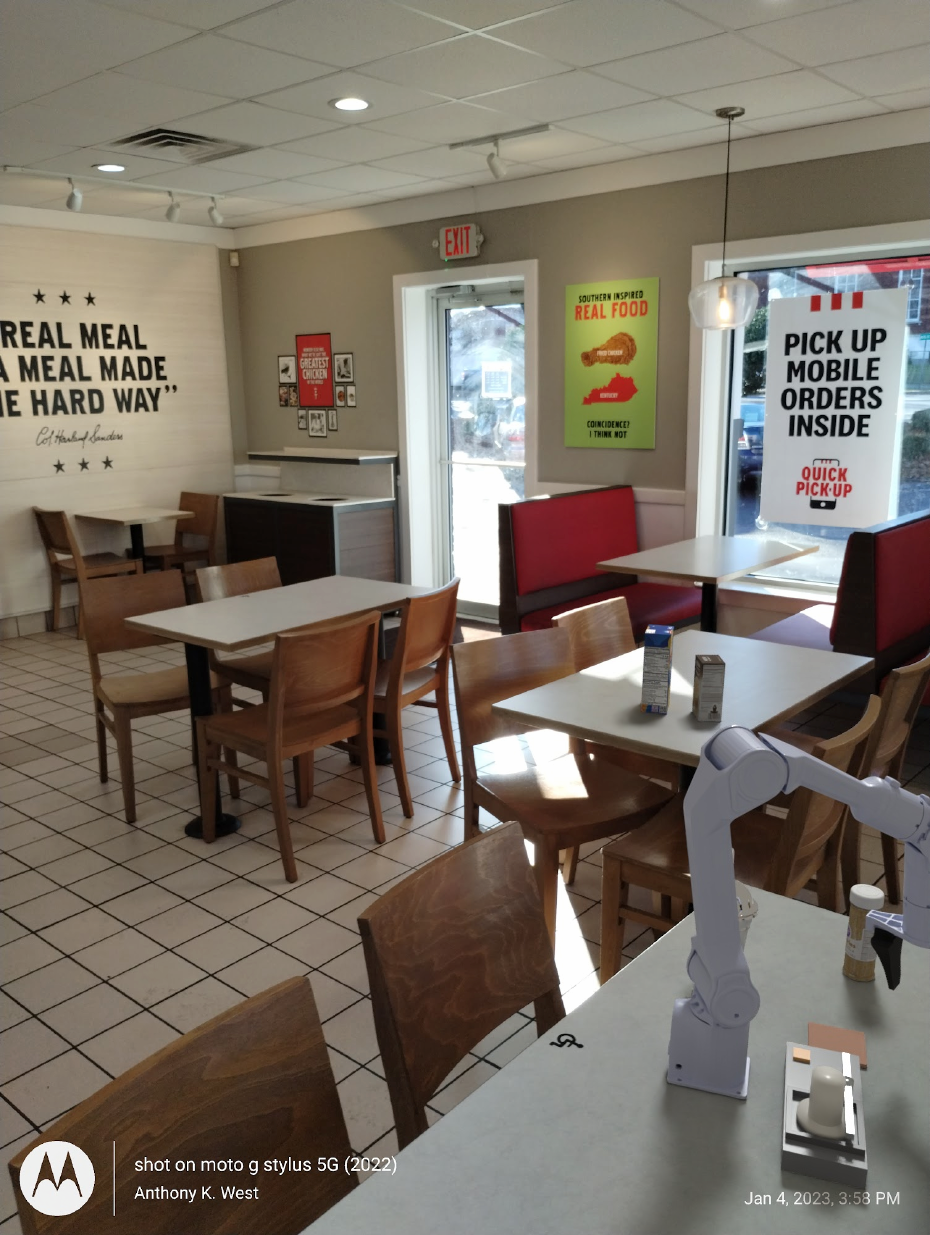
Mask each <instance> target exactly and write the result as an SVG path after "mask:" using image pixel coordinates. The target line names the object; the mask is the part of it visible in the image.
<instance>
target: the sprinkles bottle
mask: <svg viewBox="0 0 930 1235" xmlns="http://www.w3.org/2000/svg"><path fill="white" fill-rule="evenodd" d="M849 902H850V906H849V907H850V909H849V914H848V915H849V917H848V924H847V930H846V939H845V940H846V941H845V947H844V948H845V949H844V951H845V952H844V961H843V965H842V972H843V974H844V975H845V976H846V977H847V978H849V979H851V980H854V981H857V982H869V981H872V980H874V979H875V976H876V973H875V969H876V962H877V961H876V960H877V957H878V955H877V953H876V952H875V950H874V949H873V947H872V946H871V938H872V937H873V936H874V931H870V930H867V929H866V915H867V914H868V913H869V912H870V911H871V910H875V911H879V912H882V909H883V907H884V904H885V903H884V902H885V893H884V891H883V890H882V889H880V888H879V887H877V886H875V885H870V884H864V883H862V884H861V883H859V884H855V885H853V886H852V887H851V888H850V893H849Z"/></svg>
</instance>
